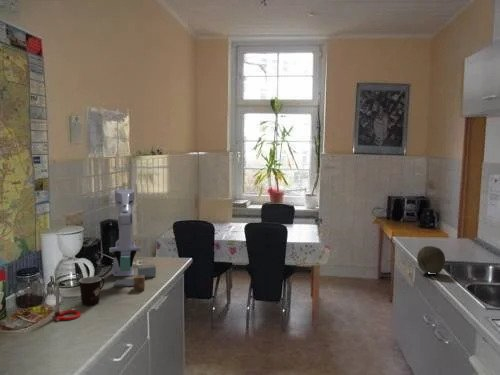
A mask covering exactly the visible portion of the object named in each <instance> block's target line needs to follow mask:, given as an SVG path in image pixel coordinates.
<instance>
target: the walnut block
mask: <svg viewBox="0 0 500 375" xmlns="http://www.w3.org/2000/svg"><path fill="white" fill-rule="evenodd" d="M133 279H134V287H133V292H145V287H146V286H145V285H146V284H145V282H146V280H145V279H146V278H145V275H138V274H135V275H133Z"/></svg>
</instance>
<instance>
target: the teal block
mask: <svg viewBox="0 0 500 375" xmlns="http://www.w3.org/2000/svg"><path fill="white" fill-rule="evenodd" d="M130 261H131V259H130V256H121V258H120V271H130V270H131V267H130Z"/></svg>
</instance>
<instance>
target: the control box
mask: <svg viewBox="0 0 500 375" xmlns="http://www.w3.org/2000/svg"><path fill="white" fill-rule="evenodd" d="M136 267H137V275H145V279H150V278H156V276H157V266H156V265H155V264H144V265H137V266H136Z"/></svg>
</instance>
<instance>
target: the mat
mask: <svg viewBox="0 0 500 375" xmlns="http://www.w3.org/2000/svg"><path fill="white" fill-rule="evenodd" d="M131 287H133V288H134V278H127V279H126V278H123V279H116V280H115V281H114V284H113V287H112V288H131Z"/></svg>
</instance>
